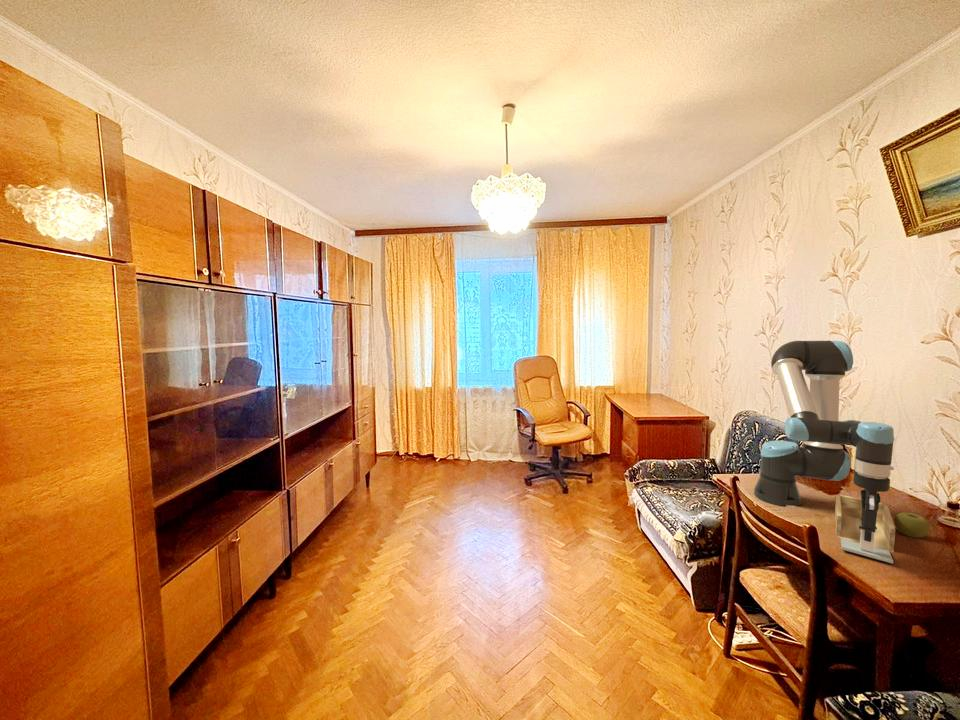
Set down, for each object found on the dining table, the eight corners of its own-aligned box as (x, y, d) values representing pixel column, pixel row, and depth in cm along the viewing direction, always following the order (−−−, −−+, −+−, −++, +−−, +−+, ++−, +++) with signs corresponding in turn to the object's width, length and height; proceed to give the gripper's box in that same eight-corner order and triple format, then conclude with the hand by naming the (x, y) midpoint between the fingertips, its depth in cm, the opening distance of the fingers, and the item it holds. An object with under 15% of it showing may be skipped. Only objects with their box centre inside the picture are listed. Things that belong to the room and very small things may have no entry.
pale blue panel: (840, 541, 124) (841, 550, 117) (840, 538, 124) (841, 546, 117) (888, 554, 117) (892, 564, 110) (889, 551, 117) (893, 560, 110)
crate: (835, 539, 125) (837, 516, 125) (834, 514, 142) (836, 493, 141) (893, 554, 117) (895, 530, 116) (885, 526, 133) (887, 504, 132)
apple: (931, 545, 122) (933, 523, 121) (894, 536, 127) (896, 515, 126) (926, 535, 127) (928, 515, 126) (891, 527, 132) (893, 507, 132)
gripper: (893, 484, 106) (886, 564, 108) (887, 471, 116) (881, 544, 118) (855, 477, 111) (850, 554, 113) (853, 465, 121) (848, 536, 123)
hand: (866, 549), depth 116 cm, fingers closed
